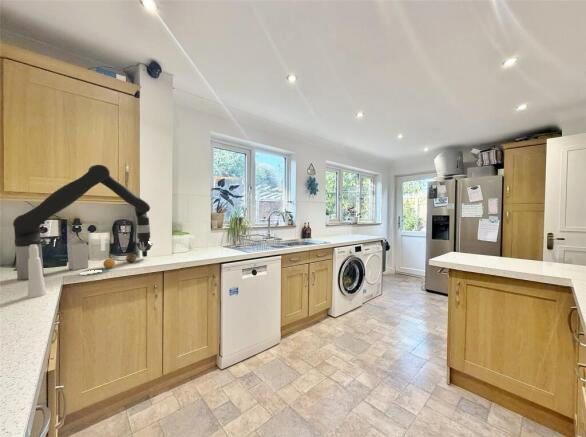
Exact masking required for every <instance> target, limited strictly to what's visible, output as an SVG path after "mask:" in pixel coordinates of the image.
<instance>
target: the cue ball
mask: <svg viewBox="0 0 586 437" xmlns="http://www.w3.org/2000/svg"><path fill="white" fill-rule="evenodd" d="M136 259H137V256H136V254H135V253H134V254H133V253H129V254H127V255H126V257H125V260H126V262H128V263H134V262H135V261H136Z"/></svg>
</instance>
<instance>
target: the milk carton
mask: <svg viewBox="0 0 586 437" xmlns="http://www.w3.org/2000/svg"><path fill="white" fill-rule="evenodd" d="M66 247H67V249H66V250H67V261H68V262H67V263H68V269H69V270H72V271H78V270H83V269H87V268H89V255H88V243H87V242H86V241H84V240H82V239H80V237H79V236H76V235H74V236H73V238H71V239H69V242H67V243H66Z"/></svg>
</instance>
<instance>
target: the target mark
mask: <svg viewBox="0 0 586 437" xmlns="http://www.w3.org/2000/svg"><path fill="white" fill-rule="evenodd" d="M89 270H90V271H91V270H94V271H95V270H102V272H97V273H93V274H87V275H82V276H85V277H86V276H87V277H88V276H95V275H101V274H104V273H105V274H106V273H108V272H109V271H111V268H106V267H98V268H97V267H96V268H91V269H86V270H84V271H89Z"/></svg>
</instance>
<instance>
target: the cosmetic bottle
mask: <svg viewBox="0 0 586 437" xmlns="http://www.w3.org/2000/svg"><path fill="white" fill-rule="evenodd" d="M29 246H30V247H29V257H30V259H28V275H29V279H28V287H27V288H28V289H27V296H26V297H27V298H30V299H31V298H37V297H42V296H45V295H47V294H48V292H47V287H46V284H45V279H44V275H43V272H42V265H41V259H40V258H39V253H38V247H37V245H36V244H35V245H29Z"/></svg>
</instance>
